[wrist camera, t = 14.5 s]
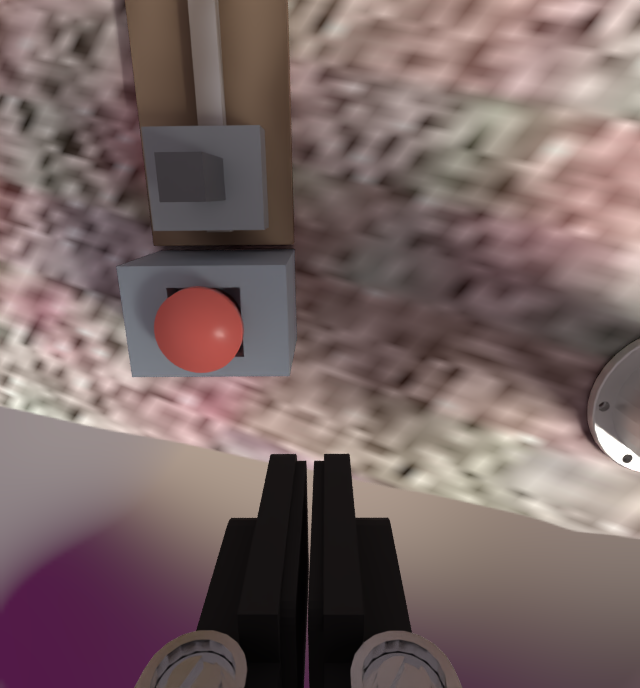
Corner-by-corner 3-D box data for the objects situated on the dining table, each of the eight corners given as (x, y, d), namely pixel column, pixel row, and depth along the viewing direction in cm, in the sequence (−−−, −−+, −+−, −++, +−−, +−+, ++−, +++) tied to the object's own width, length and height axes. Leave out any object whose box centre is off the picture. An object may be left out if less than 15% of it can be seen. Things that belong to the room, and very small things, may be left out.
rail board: (283, -175, 27) (275, -242, 23) (294, 242, 35) (289, 249, 31) (113, -171, 28) (74, -237, 23) (160, 243, 35) (137, 250, 31)
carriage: (266, 132, 31) (245, 110, 23) (270, 226, 33) (252, 237, 25) (160, 133, 31) (102, 112, 23) (170, 227, 33) (120, 238, 25)
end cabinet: (294, 249, 35) (286, 264, 27) (296, 338, 37) (289, 376, 30) (161, 250, 35) (116, 266, 28) (171, 339, 37) (132, 376, 30)
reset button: (249, 276, 30) (238, 288, 26) (253, 351, 31) (244, 372, 27) (170, 277, 30) (148, 289, 26) (178, 352, 31) (159, 373, 28)
